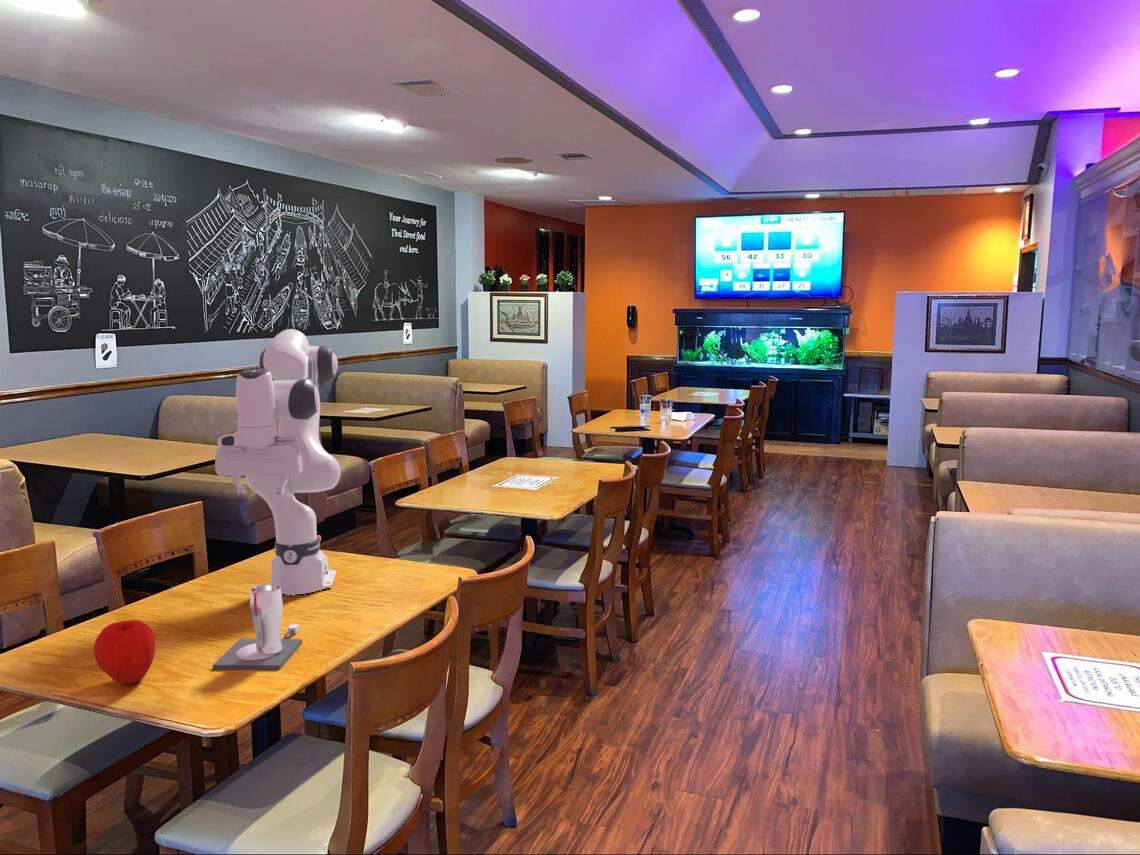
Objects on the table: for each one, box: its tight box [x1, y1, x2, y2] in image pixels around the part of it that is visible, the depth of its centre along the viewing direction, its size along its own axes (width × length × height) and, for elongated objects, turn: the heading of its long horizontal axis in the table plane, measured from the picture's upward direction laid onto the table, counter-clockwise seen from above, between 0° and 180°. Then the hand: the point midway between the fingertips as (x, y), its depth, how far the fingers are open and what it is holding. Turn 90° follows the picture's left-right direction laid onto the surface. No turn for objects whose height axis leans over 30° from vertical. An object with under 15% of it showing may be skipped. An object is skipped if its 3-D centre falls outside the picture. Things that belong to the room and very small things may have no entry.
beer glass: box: [249, 583, 284, 656], centre depth 195 cm, size 7×7×15 cm
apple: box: [93, 619, 157, 685], centre depth 182 cm, size 12×12×13 cm
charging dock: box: [212, 623, 303, 670], centre depth 200 cm, size 23×15×2 cm, turn 179°
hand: (261, 493), depth 205 cm, fingers open, 8 cm apart
